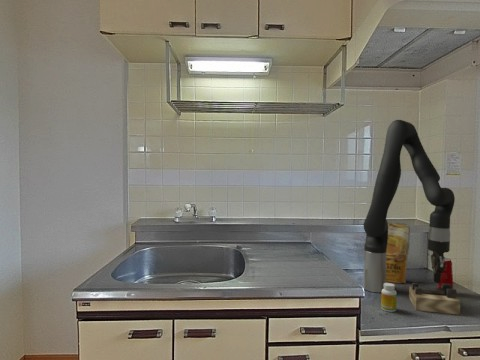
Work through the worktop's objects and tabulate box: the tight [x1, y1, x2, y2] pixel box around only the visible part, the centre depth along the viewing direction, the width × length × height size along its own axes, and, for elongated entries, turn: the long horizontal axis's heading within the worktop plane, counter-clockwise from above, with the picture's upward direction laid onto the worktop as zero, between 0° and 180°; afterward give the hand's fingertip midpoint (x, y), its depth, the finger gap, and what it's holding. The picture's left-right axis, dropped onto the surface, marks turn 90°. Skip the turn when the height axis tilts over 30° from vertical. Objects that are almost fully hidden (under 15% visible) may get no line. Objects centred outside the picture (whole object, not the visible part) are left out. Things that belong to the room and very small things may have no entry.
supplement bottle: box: [380, 282, 398, 313], centre depth 140 cm, size 5×5×10 cm
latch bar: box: [414, 285, 449, 294], centre depth 144 cm, size 13×4×1 cm, turn 75°
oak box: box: [408, 282, 461, 315], centre depth 144 cm, size 15×14×8 cm
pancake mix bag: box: [386, 222, 411, 285], centre depth 175 cm, size 7×19×28 cm, turn 67°
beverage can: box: [437, 257, 454, 289], centre depth 158 cm, size 6×6×15 cm
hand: (436, 282), depth 143 cm, fingers closed
